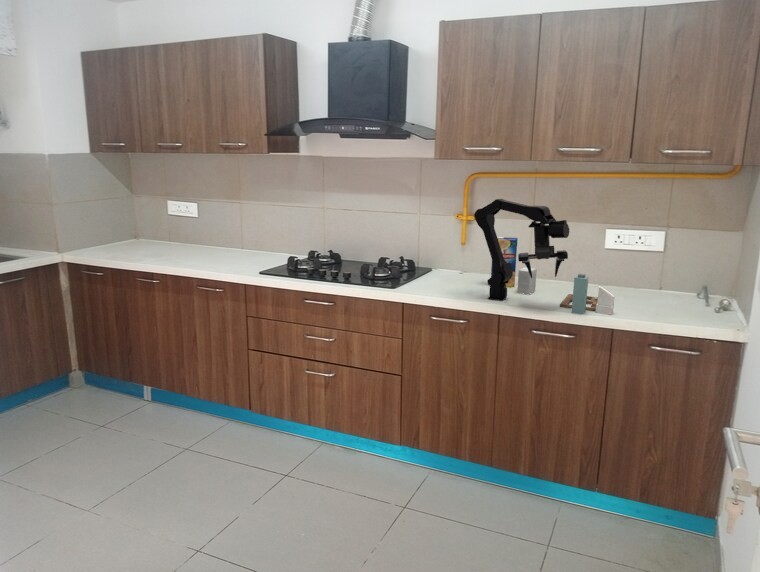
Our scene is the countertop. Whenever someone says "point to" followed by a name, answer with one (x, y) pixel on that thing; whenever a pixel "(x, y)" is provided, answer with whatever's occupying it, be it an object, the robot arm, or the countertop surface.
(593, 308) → the socket board
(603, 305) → the white wedge bracket
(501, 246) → the beverage box
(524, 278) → the small box
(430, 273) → the countertop surface
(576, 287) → the teal tall rectangular block
